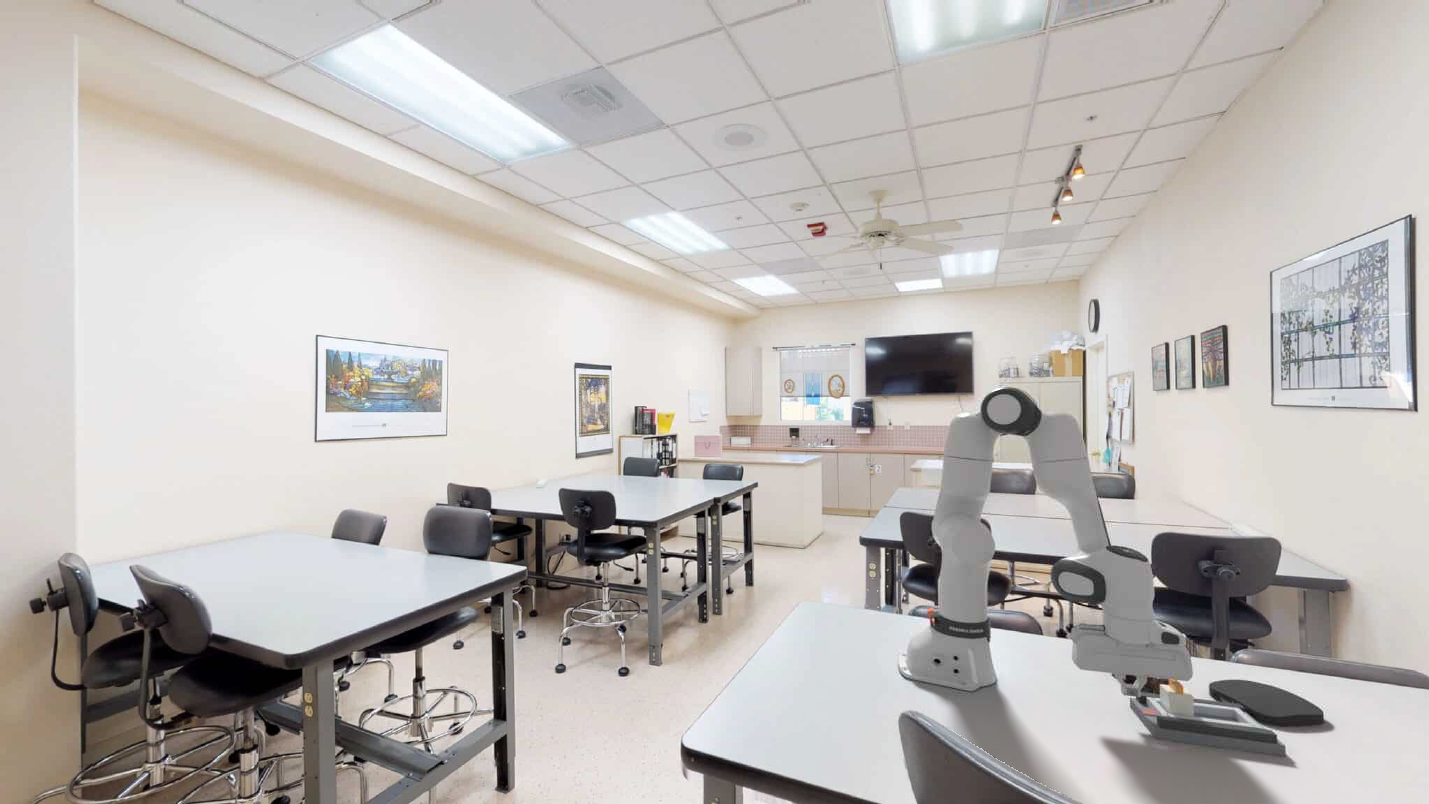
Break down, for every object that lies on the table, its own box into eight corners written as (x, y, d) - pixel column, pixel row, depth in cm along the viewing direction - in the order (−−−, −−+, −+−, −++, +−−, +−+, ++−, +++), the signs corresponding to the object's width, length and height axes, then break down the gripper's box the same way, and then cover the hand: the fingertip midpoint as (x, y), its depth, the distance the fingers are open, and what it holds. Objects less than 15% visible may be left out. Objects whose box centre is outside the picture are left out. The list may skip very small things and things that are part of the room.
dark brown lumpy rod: (1116, 680, 135) (1175, 710, 120) (1099, 670, 134) (1157, 700, 120) (1125, 657, 136) (1185, 685, 121) (1109, 648, 135) (1167, 675, 120)
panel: (1155, 738, 107) (1154, 719, 107) (1130, 707, 119) (1129, 690, 119) (1285, 756, 101) (1284, 736, 101) (1245, 721, 113) (1245, 703, 113)
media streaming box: (1335, 726, 111) (1335, 711, 111) (1268, 730, 110) (1267, 714, 110) (1259, 690, 126) (1259, 676, 126) (1199, 693, 125) (1199, 679, 125)
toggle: (1169, 718, 110) (1168, 685, 110) (1160, 708, 114) (1159, 676, 114) (1194, 722, 109) (1193, 688, 109) (1183, 711, 113) (1182, 678, 113)
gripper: (1075, 628, 114) (1077, 695, 114) (1195, 638, 108) (1198, 710, 108) (1066, 617, 120) (1068, 681, 120) (1179, 626, 114) (1182, 694, 114)
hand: (1130, 695), depth 114 cm, fingers closed
